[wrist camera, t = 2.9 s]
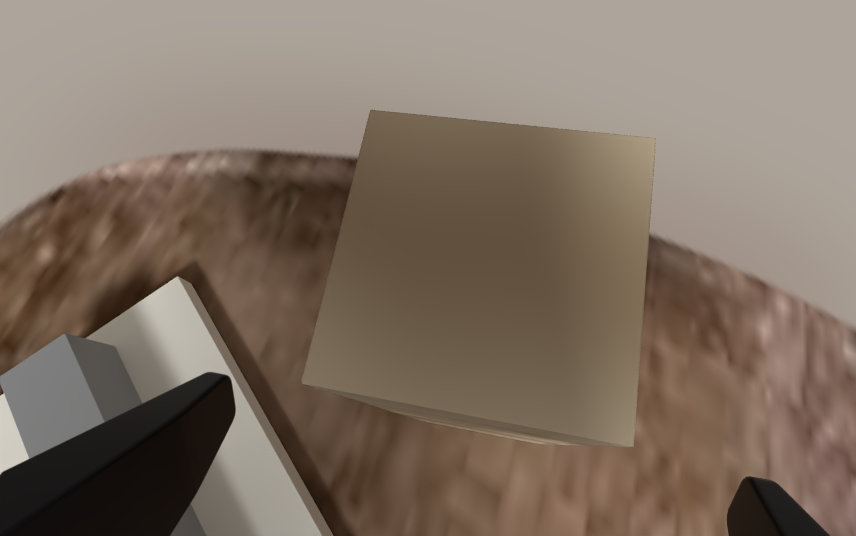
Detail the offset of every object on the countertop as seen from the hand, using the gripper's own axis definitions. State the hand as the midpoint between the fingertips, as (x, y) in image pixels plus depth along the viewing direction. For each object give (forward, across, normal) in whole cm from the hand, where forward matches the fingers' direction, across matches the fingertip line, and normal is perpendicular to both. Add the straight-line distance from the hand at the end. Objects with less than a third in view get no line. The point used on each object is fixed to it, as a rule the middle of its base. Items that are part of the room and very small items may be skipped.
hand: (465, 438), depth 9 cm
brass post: (+8, 0, +5) cm, 10 cm away
